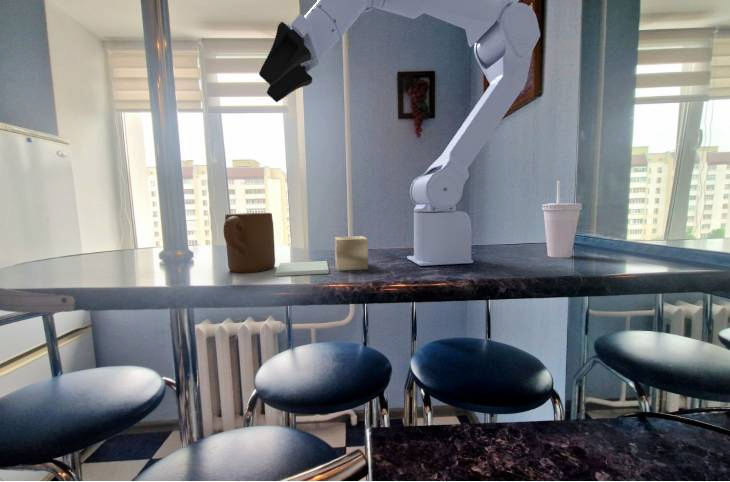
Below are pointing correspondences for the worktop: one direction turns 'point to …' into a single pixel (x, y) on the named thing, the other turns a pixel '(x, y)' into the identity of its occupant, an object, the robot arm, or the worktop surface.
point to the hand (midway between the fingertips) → (268, 89)
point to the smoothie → (560, 226)
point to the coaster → (302, 268)
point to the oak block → (351, 253)
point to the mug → (249, 242)
